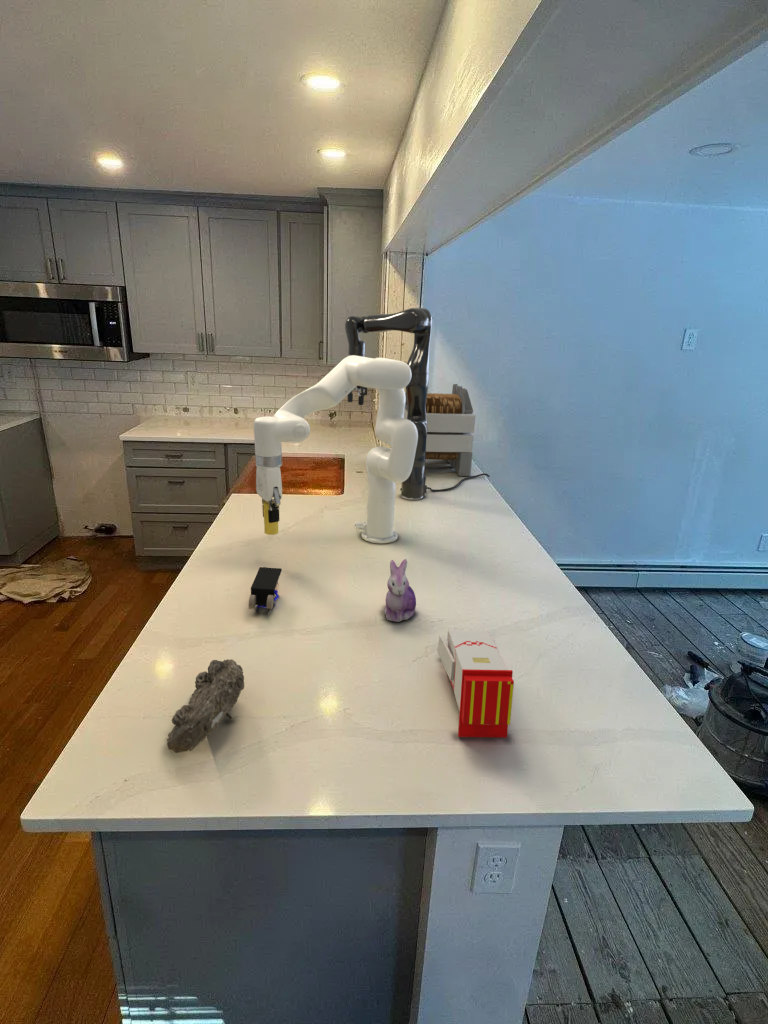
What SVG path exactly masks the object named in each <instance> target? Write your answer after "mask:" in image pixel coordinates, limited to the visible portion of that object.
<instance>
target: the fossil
mask: <svg viewBox="0 0 768 1024" xmlns="http://www.w3.org/2000/svg"><path fill="white" fill-rule="evenodd" d="M243 670H244V669H243V667H242V665H240V664H237V662H236V661H235V660H234V659H232V658H231V659H227V658H226V659H224V660H223V661H222V660H217V659H212V660H211V661H210V663H209V665H208V666H207V671H201V672H199V673H198V674H197V675H196V676H195V680H194V684H195V685H194V687H195V689H194V690H193V693H192V694H191V697H190V698H189V700H188V704H184V705H182V706H181V707H180V709H177V710H176V711H175V713H174V715H173V716H172V718H171V723H172V724H173V727H172V730H171V731H170V732H168V734H167V738H166V741H167V742H166V745H167V749H168V750H169V751H173V752H174V753H176V754H178V753H182V752H188V751H189V752H192V751H193V750H195V748H196V747H197V746H199V744H200V743H201V742H203V741H204V740H205V739H206V738H207V737H208V736H209V735H210V734H211V733H212V732H214V730H215V729H217V727H218V726H219V724H220V722H221V721H222V720H223V719H224V718H225V716H226V717H227V719H229V720H233V717H232V715H230V714H229V710H230V709H231V708H234V706H235V704H236V703H237V702H238V699H239V697H240V695H241V693H242V691H243V690H245V689H244V688H245V675H244V671H243Z"/></svg>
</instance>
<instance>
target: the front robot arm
mask: <svg viewBox="0 0 768 1024" xmlns="http://www.w3.org/2000/svg"><path fill="white" fill-rule="evenodd" d="M411 377H412V373H411V369H410V367H409V366H408V365H407V363H406V362H405V361H403V360H399V359H398V360H397V359H392V358H387V357H375V358H372V357H367V356H365V357H362V356H356V355H351V356H348V355H347V356H346V357H344V358H343V359H342V360H341V361H340V362H339V363H338V364H336V365H335V366H334V367H333V368H332V369H331V370H330V371H329V372H328V373H327V374H325V376H324V377H323V378H322V379H320V380H319V381H318V382H317V383H315V384H314V385H312V386H311V387H308V388H307V389H304V390H303V391H301V392H300V393H298V394H296V395H294V396H292V397H291V398H290V399H288V400H287V401H286V402H285V403H284V404H283V405H282V406H281V407H279V408H278V410H276V412H275V413H274V414H273V416H270V415H269V416H259V417H257V418H255V419H254V421H253V436H254V437H253V438H254V457H255V467H256V468H255V469H256V472H255V491H256V494H257V495H258V496H259V497H260V498H261V503H262V505H261V507H262V518H264V509H263V502H264V501H267V502H269V510H268V520H269V523H273V522H278V523H279V522H280V506H281V500H282V498H283V483H282V472H281V467H282V466H283V451H282V447H283V446H282V443H302V442H304V441H305V440H306V439H308V437H309V436H310V433H311V426H310V424H309V423H308V421H307V419H305V418H306V417H307V416H309V415H311V414H313V413H316V412H320V411H325V410H329V409H332V408H335V407H337V406H338V405H339V404H340V403H341V402H342V401H343V400H344V399H345V398H346V397H348V394H349V393H350V392H351V391H352V390H353V389H354V388H355V387H357V386H362V387H367V389H375V390H377V392H378V399H379V400H378V409H377V415H376V419H375V420H376V421H375V427H374V435H375V438H376V439H377V440H378V441H379V442H381V443H383V444H386V445H388V446H390V448H389V447H386V446H374V447H373V448H371V449H370V450H369V451H368V453H367V454H366V456H365V471H366V478H367V491H366V519H365V520H366V521H364V522H362V521H355V522H354V527H355V529H356V530H361V534H360V535H361V538H362V539H363V540H364V541H366V542H368V543H373V544H389V543H393V542H395V541H397V540H398V537H399V534H398V532H397V531H396V530H395V528H394V527H395V510H396V509H395V508H396V507H395V506H396V494H397V493H396V492H397V487H396V484H402V482H404V481H405V480H407V478H408V477H409V476H410V474H411V471H412V468H413V463H414V458H415V453H416V448H417V442H418V431H417V428H416V426H415V424H414V423H413V422H411V421H410V420H408V419H404V412H405V403H406V396H405V393H406V390H405V389H406V386H407V385H408V384H409V382H410V380H411ZM274 501H275V502H274ZM271 502H274V503H273V504H272V503H271Z"/></svg>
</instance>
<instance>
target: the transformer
mask: <svg viewBox="0 0 768 1024" xmlns="http://www.w3.org/2000/svg"><path fill="white" fill-rule="evenodd" d="M451 389H452V391H451V393H438V392H437V393H435V392H434V393H430V392H429V393H427V399H426V419H427V428H428V430H427V440H426V456H425V460H433V461H436V460H437V461H440V460H441V461H442V460H443V461H447V463H449V464H450V467H451V468H453V469H454V471H455V472H456V474H457V475H458V476H460V477H461V476H462V477H470V476H471V474H472V464H473V446H474V445H473V444H474V433H475V424H476V415H475V414H474V409H473V405H472V402H471V398H470V395H469V392H468V389H467V388H463V386H462V385H458V384H457V383H453V385H452V388H451ZM405 396H406V403H405V412H404V419H407V414H408V401H407V395H406V392H405Z"/></svg>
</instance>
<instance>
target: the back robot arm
mask: <svg viewBox="0 0 768 1024" xmlns="http://www.w3.org/2000/svg"><path fill="white" fill-rule="evenodd" d="M432 325H433V319H432V313H431V312H430V310H429V309H427V308H425V307H410V308H407V309H403V310H401V311H399V312H398V311H397V312H395V313H377V314H376V313H375V314H369V315H351V316H348V317H347V318H346V320H345V323H344V330H345V335H346V339H347V343H348V350H347V351H348V353H347V357H348V356H351V355H356V356H362V357H366V342H365V341H364V340H362V339H360V337H359V335H364V334H376V333H377V334H379V333H386V332H391V331H395V332H396V331H398V332H404V333H407V334H408V333H409V334H413V348H412V351H411V353H410V355H409V357H408V360H407V363H406V364H407V365H408V366H409V367H410V369H411V373H412V377H411V380H410V382H409V384H408V385H407V386H406V387H405V393H406V395H407V401H408V414H407V419H408V420H410V421H411V422H413V423H414V424H415V426H416V428H417V431H418V442H417V448H416V453H415V458H414V463H413V468H412V471H411V474H410V476H409V477H408V478H407V480H405V481H404V482H401V487H400V490H399V491H400V498H402V499H404V500H408V501H419V500H422V499H423V498H425V497H426V496H425V495H426V494H427V491H428V490H429V491H430V492H434V493H436V492H445V491H446V492H447V491H451V490H454V489H456V488H457V487H458V486H459V485H461V484H462V482H464V481H466V480H468V479H475V478H478V477H482V476H486V477H487V478H490V477H491V476H490V475H489V474H488V473H485V472H484V473H479V474H476V475H472V476H471V475H470V476H465V477H464V478H462V479H461V480H459V482H458V483H456V484H455V485H454V486H451V487H447V488H442V489H432V487H430V486H428V485H426V484H427V483H426V481H427V475H426V474H425V469H426V459H425V456H426V440H427V430H428V428H427V419H426V399H427V393H428V391H429V379H430V377H429V375H430V374H429V373H430V371H429V369H430V367H429V366H430V345H431V344H430V343H431V337H432V329H433V328H432V327H433V326H432ZM354 391H355V392H357V395H358V400H357V401H358V403H357V405H358V406H364V403H365V402H364V401H365V396H368V388H367V387H362V386H357V387H355V388H354V389H353V390H352V391H351V392H350V393H349V394H348V395H347V403H353V402H354V401H353V400H354V394H353V393H354Z"/></svg>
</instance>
